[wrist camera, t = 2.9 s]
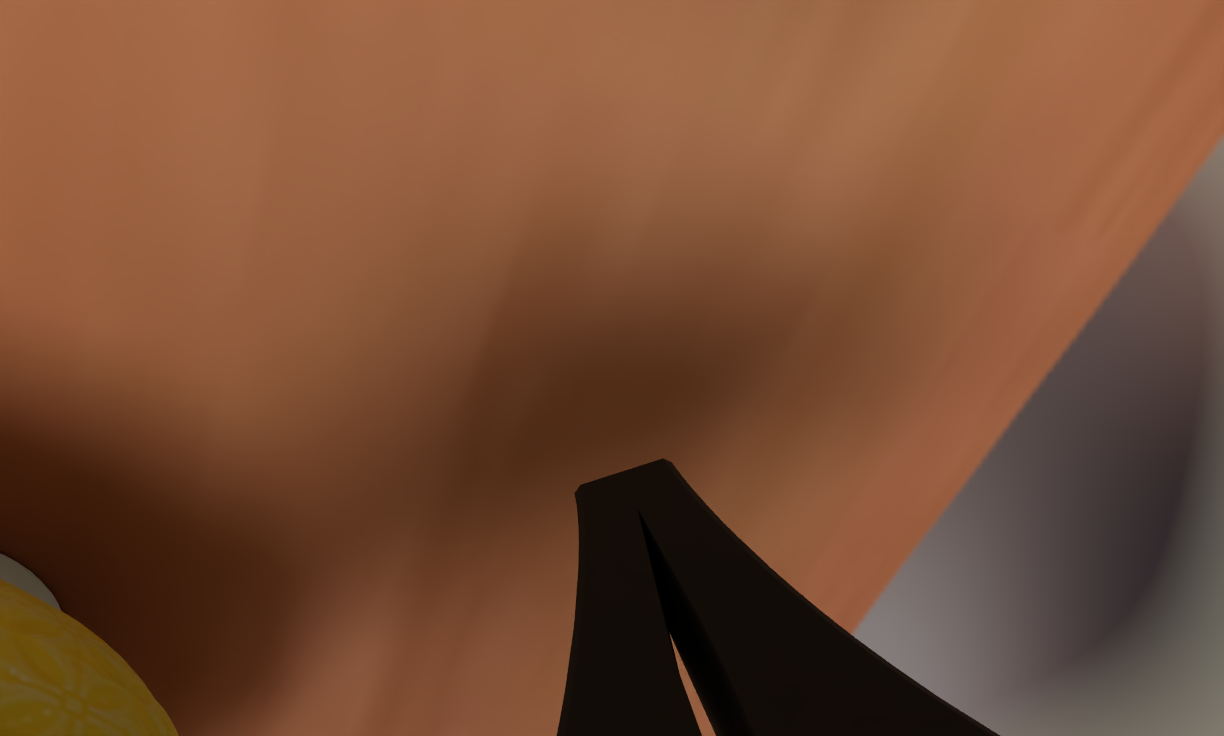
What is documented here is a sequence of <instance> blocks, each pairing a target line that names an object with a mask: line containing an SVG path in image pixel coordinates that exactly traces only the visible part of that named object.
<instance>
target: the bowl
mask: <svg viewBox="0 0 1224 736" xmlns="http://www.w3.org/2000/svg"><path fill="white" fill-rule="evenodd" d="M0 736H179V735H178V733H177V731H176V729H175V727H174V725H173V723H172V721H171V719H170V718H169V716H168V715H167V713H166V712H165V710H164V709H163V707H162V706H161V705H160V704H159V703H158V702H157V701H156V700H155V698H154V697H153V695H152V693H151V692H150V691H149V690H148V688H147V687H146V685H145V683H144V682H143V681H142V680H141V678H140V677H139V676H138V675H137V674H136V673H135V672H134V670H133V669H132V668H131V667H130V666H129V665H128V664H127V662H126V661H125V660H124V659H123V658H122V657H121V656H120V655H119V654H118V653H117V652H116V651H114V650H113V649H112V648H111V647H110V646H109V645H108V644H107V643H106V642H104V641H103V640H102V639H101V638H99V637H98V636H97V635H96V634H94V633H93V632H92V631H90V630H89V629H88V628H86V627H85V626H84V625H83V624H81V623H80V622H78V621H77V620H75V619H74V618H72V617H70V616H69V615H67V614H65V613H64V612H62V611H61V609H60V607H59V604H58V602H57V601H56V599H55V598H54V596H53V594H52V593H51V592H50V590H49V589H48V588H47V587H46V586H45V585H44V584H43V583H42V581H41V580H40V579H39V578H38V577H36V576H35V575H34V574H33V573H32V572H31V571H29V570H28V569H27V568H25V567H24V566H22V565H21V564H19V563H18V562H16V561H14V560H12V559H11V558H9V557H7V556H5V555H3V554H1V553H0Z"/></svg>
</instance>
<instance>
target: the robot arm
mask: <svg viewBox="0 0 1224 736" xmlns="http://www.w3.org/2000/svg"><path fill="white" fill-rule="evenodd" d="M575 498H576V504H577V511H578V525H579V567H578V582H577V596H576V609H575V621H574V630H573V638H572V645H571V652H570V659H569V666H568V673H567V681H566V688H565V694H564V700H563V705H562V711H561V716H560V722H559V727H558V732H557V736H702V735H701V732H700V729H699V726H698V724H697V721H696V718H695V715H694V713H693V710H692V707H691V704H690V702H689V699H688V696H687V693H686V691H685V688H684V685H683V682H682V680H681V677H680V674H679V670H678V666H677V661H676V657H675V653H674V649H673V645H672V641H671V637H672V639H673V641H674V643H675V646H676V648H677V650H678V652H679V654H680V657H681V659H682V661H683V663H684V666H685V668H686V670H687V672H688V674H689V677H690V679H691V681H692V683H693V686H694V688H695V690H696V692H697V694H698V697H699V699H700V701H701V703H702V705H703V708H704V710H705V712H706V714H707V716H708V719H709V721H710V723H711V725H712V727H713V730H714V732H715V734H716V736H1000V735H998V734H997V733H995V732H993V731H992V730H990V729H989V728H987V727H985V726H984V725H982V724H980V723H979V722H977V721H976V720H974V719H973V718H971V717H969V716H968V715H966V714H965V713H963V712H961V711H960V710H958V709H957V708H955V707H953V706H952V705H950V704H949V703H947V702H946V701H944V700H942V699H941V698H939V697H938V696H936V695H935V694H933V693H932V692H930V691H929V690H928V689H926V688H925V687H923V686H921V685H920V684H919V683H917V682H916V681H914V680H913V679H912V678H910V677H909V676H907V675H906V674H904V673H903V672H902V671H900V670H899V669H897V668H896V667H894V666H893V665H891V664H890V663H889V662H887V661H886V660H885V659H883V658H882V657H881V656H879V655H877V654H876V653H875V652H874V651H872V650H871V649H870V648H868V647H867V646H866V645H864V644H863V643H861V642H860V641H859V640H857V639H856V638H855V637H853V636H852V635H851V634H850V633H848V632H847V631H846V630H844V629H843V628H842V627H841V626H839V625H838V624H837V623H835V622H834V621H833V620H832V619H830V618H829V617H828V616H827V615H825V614H824V613H823V612H822V611H820V610H819V609H818V608H817V607H816V606H814V605H813V604H812V603H811V602H810V601H808V600H807V599H806V598H805V597H804V596H803V595H801V594H800V593H799V592H798V591H797V590H795V589H794V588H793V587H792V586H791V585H789V584H788V583H787V582H786V581H785V580H784V579H783V578H782V577H780V576H779V575H778V574H777V573H776V572H775V571H774V570H772V569H771V568H770V567H769V566H768V565H767V564H766V563H765V562H764V561H763V560H762V559H761V558H760V557H759V556H757V555H756V554H755V553H754V552H753V551H752V550H751V549H750V548H749V547H748V546H747V545H746V544H745V543H744V542H743V541H742V540H741V539H739V538H738V537H737V536H736V535H735V534H734V533H733V532H732V531H731V530H730V529H729V528H728V527H727V526H726V525H725V524H724V523H723V522H722V521H721V520H720V519H719V517H718V516H717V515H716V514H715V513H714V512H713V511H712V510H711V509H710V508H709V507H708V506H707V505H706V504H705V503H704V501H703V500H702V499H701V498H700V497H699V496H698V495H697V494H696V492H695V491H694V490H693V489H692V488H691V487H690V485H689V484H688V483H687V482H686V481H685V479H684V478H683V477H682V476H681V474H680V473H679V472H678V470H677V469H676V468H675V466H674V465H673V463H672V462H670V461H667V460H665V459H660V460H657V461H654V462H651V463H648V464H645V465H641V466H638V467H635V468H632V469H629V470H626V471H623V472H619V473H616V474H613V475H610V476H607V477H604V478H601V479H598V480H594V481H591V482H588V483H585V484H582V485H580V486H579V488H578V489H577V491H576V492H575ZM669 632H670V633H669ZM670 634H671V637H670Z"/></svg>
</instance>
